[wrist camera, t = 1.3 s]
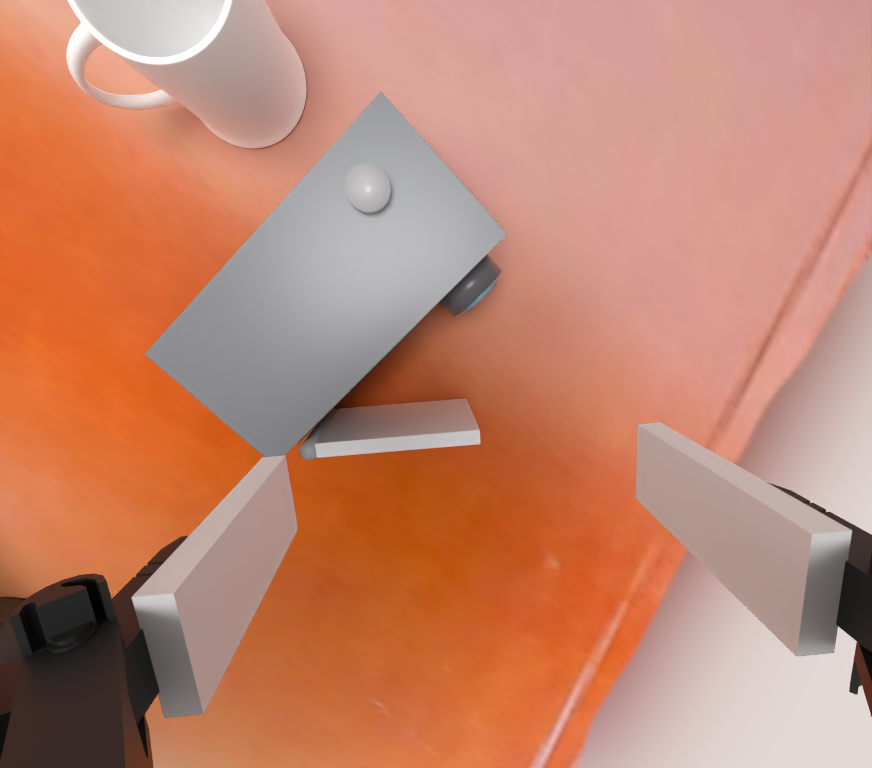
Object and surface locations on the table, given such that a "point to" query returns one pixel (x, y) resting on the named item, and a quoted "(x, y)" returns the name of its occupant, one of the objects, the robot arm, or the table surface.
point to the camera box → (332, 283)
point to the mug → (199, 62)
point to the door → (392, 428)
